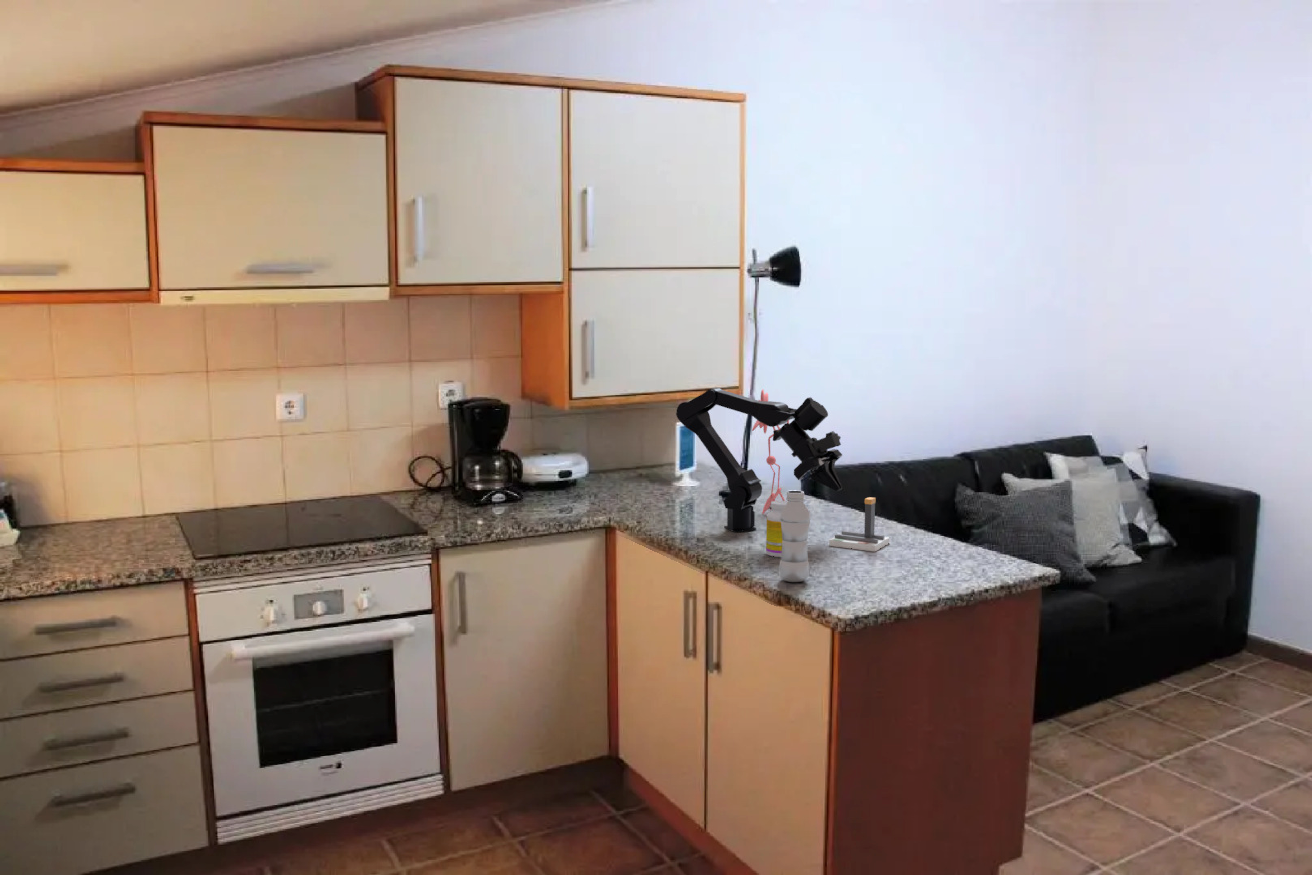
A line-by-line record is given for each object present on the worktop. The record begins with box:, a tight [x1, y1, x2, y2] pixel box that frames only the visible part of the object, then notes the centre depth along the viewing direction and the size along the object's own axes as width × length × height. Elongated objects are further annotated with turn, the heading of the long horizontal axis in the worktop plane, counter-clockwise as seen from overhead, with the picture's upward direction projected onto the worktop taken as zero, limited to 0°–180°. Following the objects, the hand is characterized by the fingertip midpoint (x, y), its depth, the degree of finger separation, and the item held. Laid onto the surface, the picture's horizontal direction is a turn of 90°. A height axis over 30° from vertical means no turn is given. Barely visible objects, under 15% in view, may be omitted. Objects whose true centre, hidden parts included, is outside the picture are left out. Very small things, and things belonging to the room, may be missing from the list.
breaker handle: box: [863, 496, 877, 538], centre depth 275 cm, size 2×3×10 cm, turn 149°
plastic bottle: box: [778, 490, 812, 583], centre depth 242 cm, size 6×7×20 cm
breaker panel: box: [828, 530, 890, 552], centre depth 277 cm, size 12×10×2 cm
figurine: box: [751, 388, 790, 515], centre depth 317 cm, size 15×26×35 cm, turn 162°
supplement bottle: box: [765, 500, 788, 558], centre depth 266 cm, size 7×7×13 cm
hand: (839, 489), depth 278 cm, fingers closed
